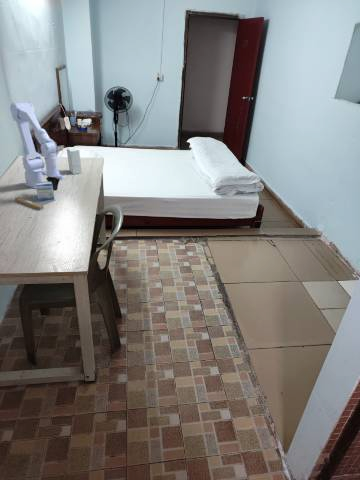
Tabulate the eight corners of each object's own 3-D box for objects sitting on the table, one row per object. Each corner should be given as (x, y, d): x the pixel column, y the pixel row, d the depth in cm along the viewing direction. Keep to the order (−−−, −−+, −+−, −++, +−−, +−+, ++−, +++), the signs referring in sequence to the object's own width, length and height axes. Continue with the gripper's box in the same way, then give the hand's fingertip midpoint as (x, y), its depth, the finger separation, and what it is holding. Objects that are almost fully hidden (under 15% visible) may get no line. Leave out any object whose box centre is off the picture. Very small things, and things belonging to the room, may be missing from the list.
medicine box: (38, 201, 171) (35, 185, 166) (37, 197, 174) (35, 182, 170) (54, 199, 174) (52, 183, 169) (53, 195, 177) (51, 180, 173)
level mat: (15, 201, 169) (14, 197, 168) (36, 193, 179) (35, 189, 178) (40, 210, 162) (39, 206, 161) (60, 201, 172) (59, 197, 171)
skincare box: (82, 173, 210) (80, 150, 202) (72, 174, 207) (70, 151, 199) (77, 169, 216) (75, 146, 208) (68, 170, 213) (66, 147, 205)
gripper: (67, 166, 172) (70, 190, 179) (47, 160, 177) (50, 184, 184) (57, 169, 166) (60, 194, 173) (36, 164, 172) (40, 188, 179)
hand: (54, 189), depth 178 cm, fingers closed
